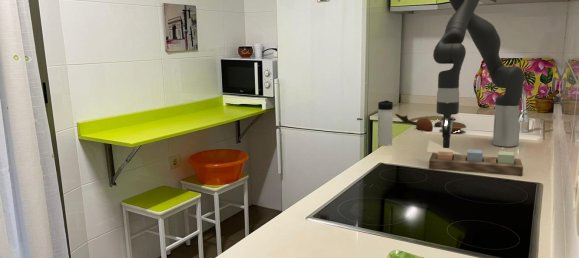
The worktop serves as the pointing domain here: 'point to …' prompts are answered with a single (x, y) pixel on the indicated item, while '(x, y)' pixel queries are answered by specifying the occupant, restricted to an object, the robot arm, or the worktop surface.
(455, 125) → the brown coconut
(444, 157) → the terracotta button
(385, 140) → the travel mug
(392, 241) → the worktop surface
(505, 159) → the sage green button
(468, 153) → the slate blue button
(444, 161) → the button panel
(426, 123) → the potato
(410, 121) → the tree branch
